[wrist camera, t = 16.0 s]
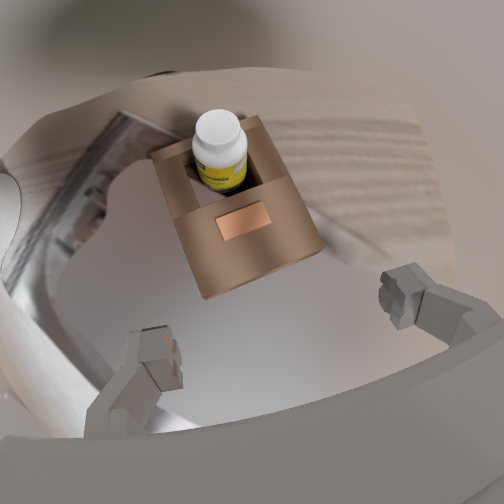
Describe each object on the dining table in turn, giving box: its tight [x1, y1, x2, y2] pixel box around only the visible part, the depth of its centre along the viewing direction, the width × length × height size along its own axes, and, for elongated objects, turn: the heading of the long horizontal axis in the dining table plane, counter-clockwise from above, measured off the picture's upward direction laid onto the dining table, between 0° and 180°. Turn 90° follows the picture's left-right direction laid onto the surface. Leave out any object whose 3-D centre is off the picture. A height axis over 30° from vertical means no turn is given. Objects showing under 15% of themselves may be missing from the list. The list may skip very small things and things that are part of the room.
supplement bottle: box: [192, 109, 247, 193], centre depth 31 cm, size 5×5×10 cm
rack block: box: [150, 115, 325, 300], centre depth 34 cm, size 13×17×3 cm
